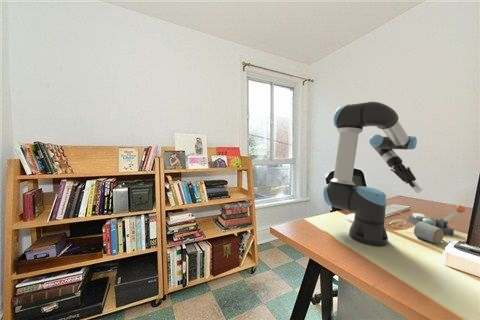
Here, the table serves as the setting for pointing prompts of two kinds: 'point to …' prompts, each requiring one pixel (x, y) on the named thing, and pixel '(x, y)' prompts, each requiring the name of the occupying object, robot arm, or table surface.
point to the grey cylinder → (428, 232)
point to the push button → (428, 221)
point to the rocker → (418, 216)
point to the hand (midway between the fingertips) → (419, 191)
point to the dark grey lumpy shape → (435, 224)
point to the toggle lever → (454, 213)
